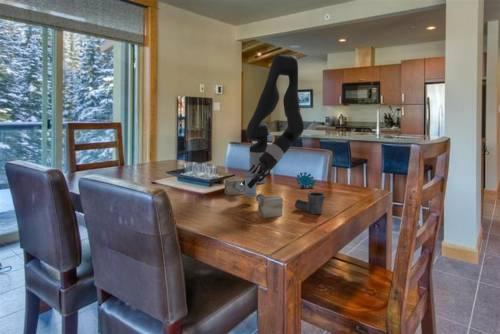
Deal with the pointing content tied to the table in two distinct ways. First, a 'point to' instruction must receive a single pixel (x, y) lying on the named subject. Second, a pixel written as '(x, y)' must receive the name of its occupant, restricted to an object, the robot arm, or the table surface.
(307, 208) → the pipe
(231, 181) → the block
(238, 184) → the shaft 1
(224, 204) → the table surface
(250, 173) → the coupling
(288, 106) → the robot arm
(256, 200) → the shaft
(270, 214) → the block
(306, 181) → the blue spiky round piece
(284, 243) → the table surface
